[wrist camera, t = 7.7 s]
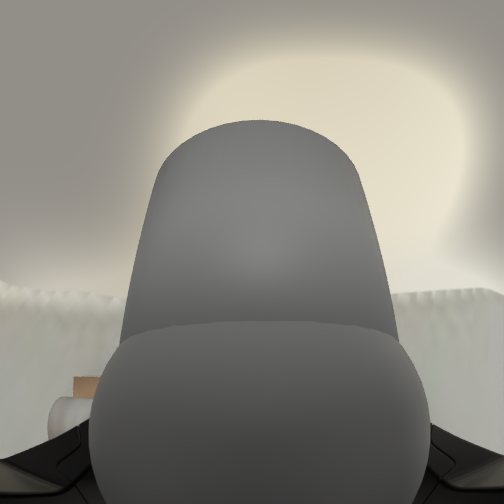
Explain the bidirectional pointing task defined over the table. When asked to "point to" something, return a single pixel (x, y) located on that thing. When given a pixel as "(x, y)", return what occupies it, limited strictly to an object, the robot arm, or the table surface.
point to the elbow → (259, 337)
